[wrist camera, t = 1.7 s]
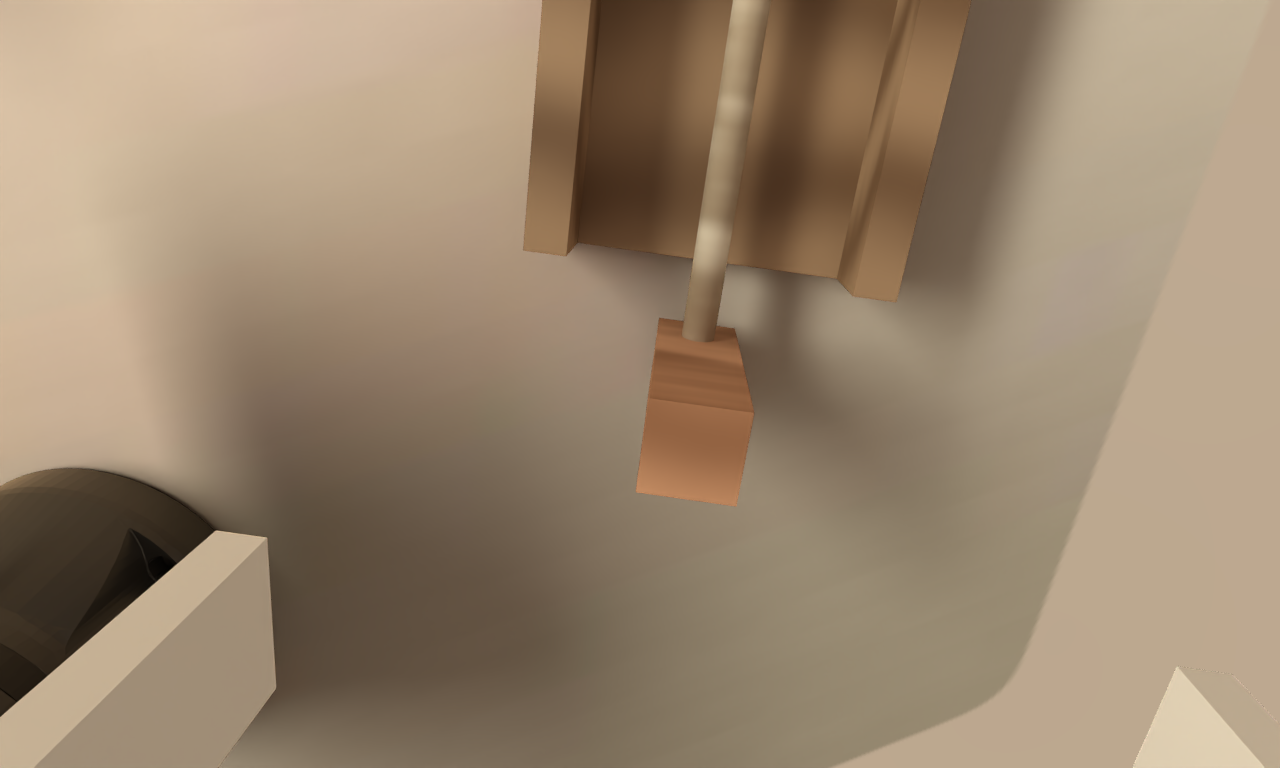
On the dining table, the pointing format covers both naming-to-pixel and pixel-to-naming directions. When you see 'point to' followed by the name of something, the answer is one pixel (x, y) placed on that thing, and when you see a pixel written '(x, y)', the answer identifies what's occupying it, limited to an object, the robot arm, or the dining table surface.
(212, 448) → the dining table surface
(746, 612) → the dining table surface
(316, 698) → the dining table surface
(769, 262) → the tray
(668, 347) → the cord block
